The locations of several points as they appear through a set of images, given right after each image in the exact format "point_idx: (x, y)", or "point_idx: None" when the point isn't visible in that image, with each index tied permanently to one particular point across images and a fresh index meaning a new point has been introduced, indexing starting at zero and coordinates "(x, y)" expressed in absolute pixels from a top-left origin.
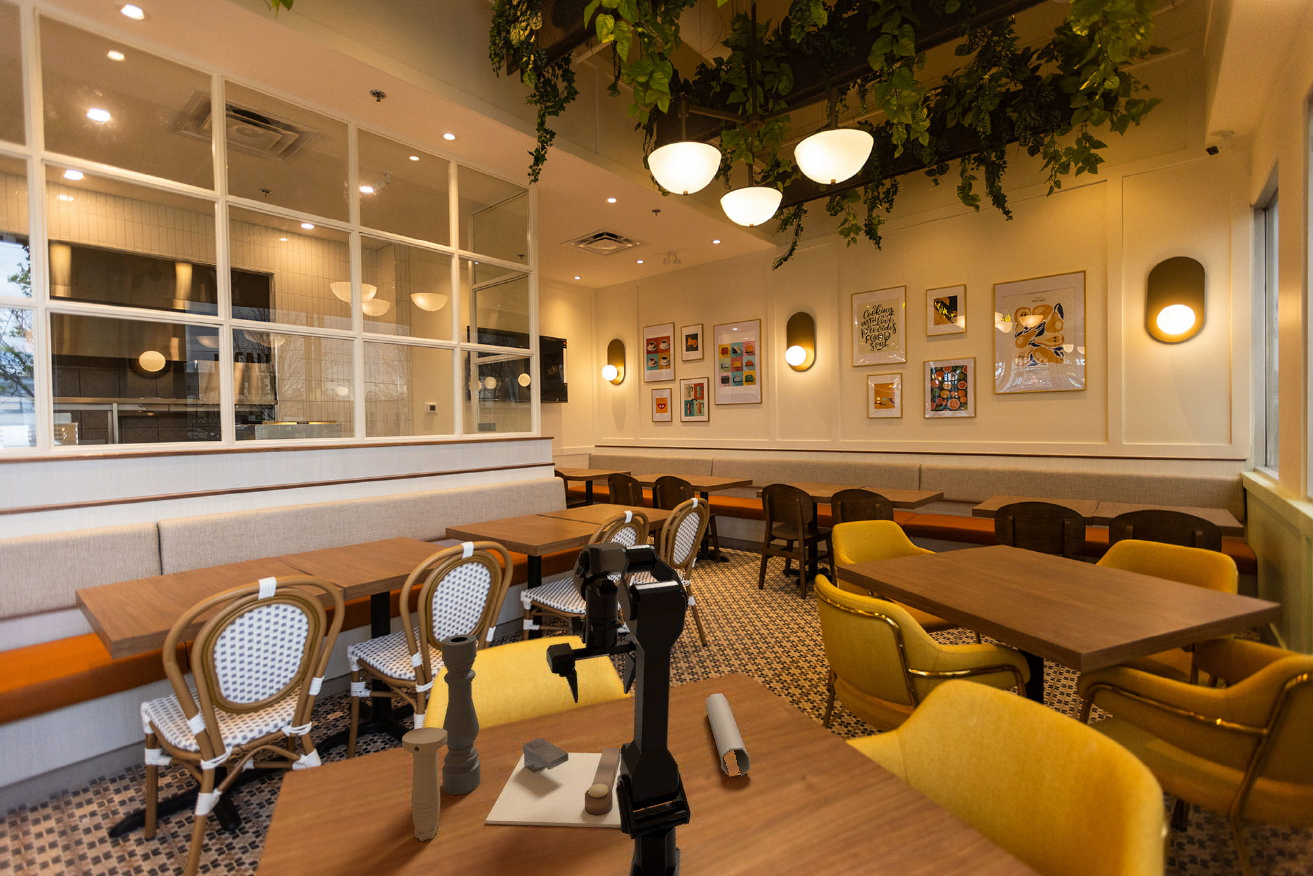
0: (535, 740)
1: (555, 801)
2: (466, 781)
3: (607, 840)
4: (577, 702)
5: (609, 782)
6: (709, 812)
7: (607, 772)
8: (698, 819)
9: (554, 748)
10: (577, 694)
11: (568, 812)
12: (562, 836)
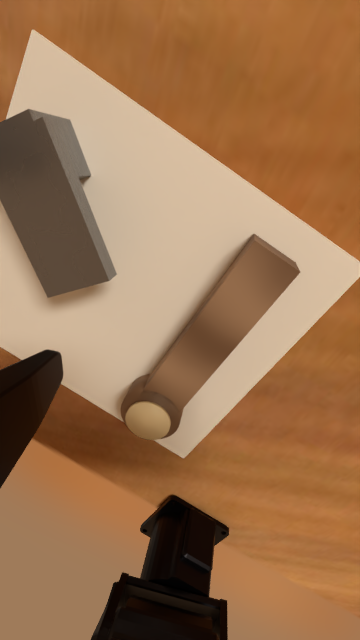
0: (18, 127)
1: (81, 335)
2: None
3: (143, 456)
4: (60, 383)
5: (188, 396)
6: (339, 502)
7: (202, 361)
8: (307, 502)
9: (74, 226)
10: (23, 445)
11: (98, 378)
12: (79, 412)
